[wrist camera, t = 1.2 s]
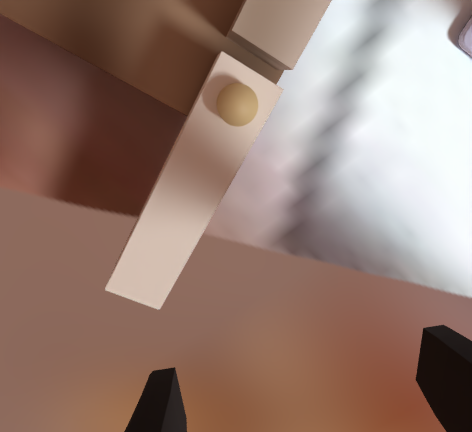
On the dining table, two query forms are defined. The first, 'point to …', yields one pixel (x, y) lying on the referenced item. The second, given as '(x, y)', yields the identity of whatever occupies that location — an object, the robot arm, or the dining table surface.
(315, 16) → the stool seat
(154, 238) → the hinged leg
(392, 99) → the dining table surface
